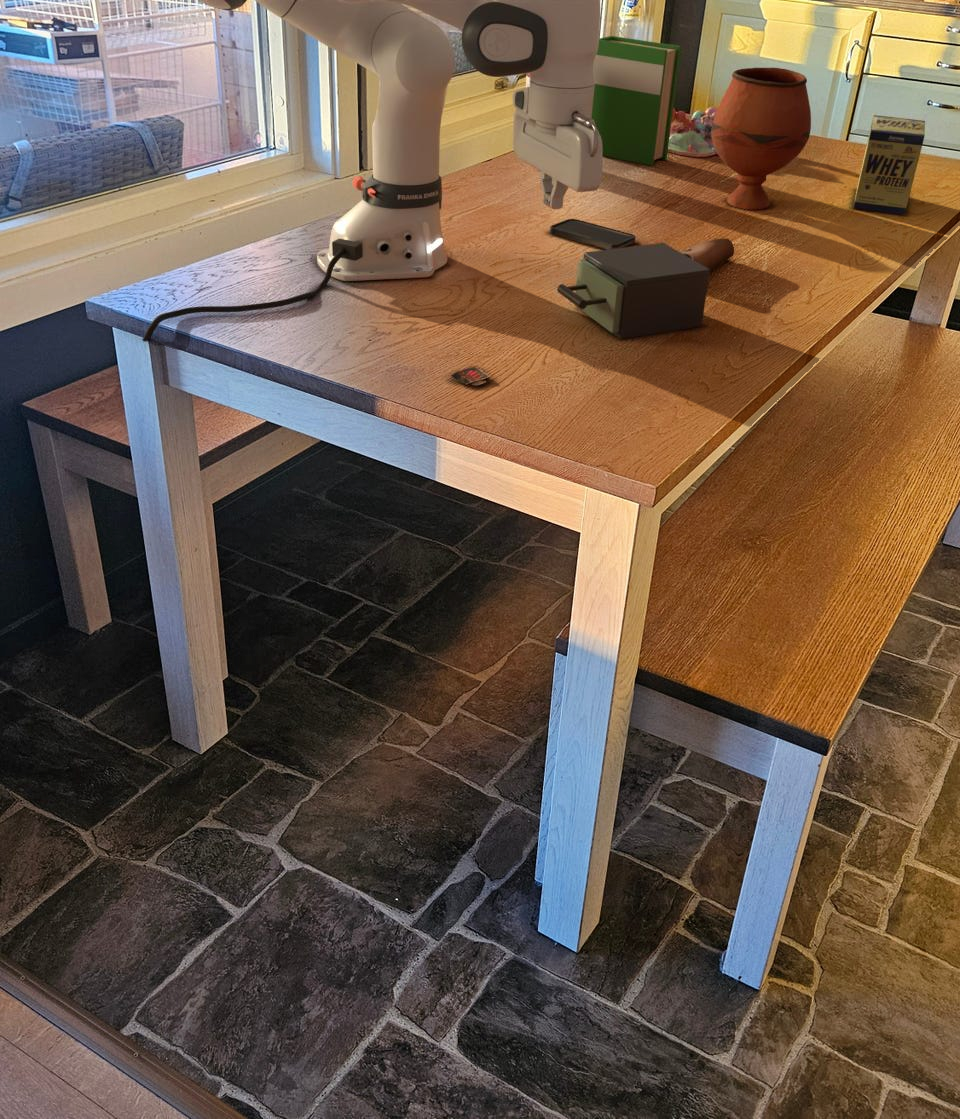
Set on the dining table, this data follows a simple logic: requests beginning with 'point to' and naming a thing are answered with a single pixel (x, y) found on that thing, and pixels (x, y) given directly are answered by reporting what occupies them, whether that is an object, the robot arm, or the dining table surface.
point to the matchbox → (470, 376)
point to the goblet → (761, 128)
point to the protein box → (889, 164)
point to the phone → (592, 234)
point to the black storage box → (655, 288)
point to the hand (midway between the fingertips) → (552, 206)
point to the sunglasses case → (710, 252)
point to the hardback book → (634, 97)
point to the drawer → (596, 295)
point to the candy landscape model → (692, 134)
